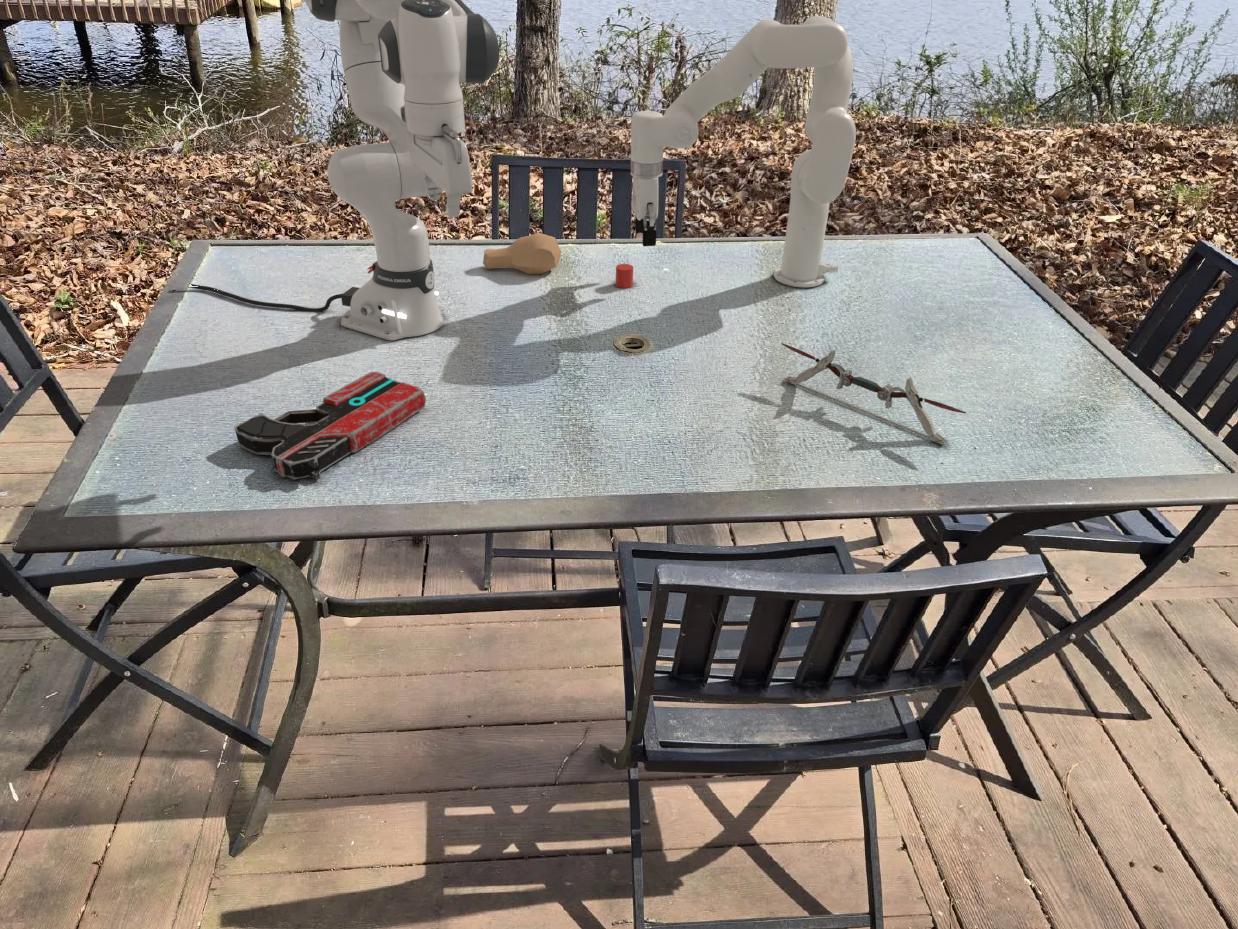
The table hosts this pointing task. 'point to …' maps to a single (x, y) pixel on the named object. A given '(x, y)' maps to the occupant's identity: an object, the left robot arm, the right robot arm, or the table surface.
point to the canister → (624, 275)
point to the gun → (331, 425)
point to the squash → (526, 254)
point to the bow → (883, 393)
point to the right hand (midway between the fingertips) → (645, 238)
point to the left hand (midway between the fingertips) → (443, 207)
